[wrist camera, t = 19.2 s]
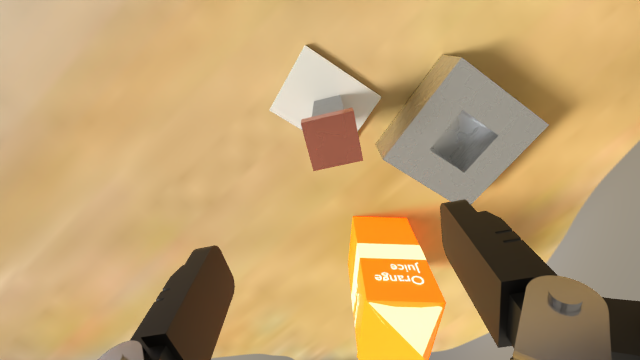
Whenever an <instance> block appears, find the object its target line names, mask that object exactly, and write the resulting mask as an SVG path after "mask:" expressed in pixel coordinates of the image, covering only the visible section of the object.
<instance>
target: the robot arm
mask: <svg viewBox="0 0 640 360" xmlns="http://www.w3.org/2000/svg"><path fill="white" fill-rule="evenodd" d="M440 213H441V228H442V242H443V247H444V250H445V253H446V256H447V258H448V260H449V262H450V263H451V265H452V267H453V269H454V271H455V272H456V274H457V276H458V278H459V279H460V281H461V283H462V285H463V286H464V288H465V290H466V292H467V293H468V295H469V297H470V299H471V301H472V302H473V304H474V306H475V308H476V309H477V311H478V313H479V315H480V316H481V318H482V320H483V322H484V323H485V325H486V327H487V329H488V331H489V332H490V334H491V336H492V338H493V339H494V341H495V343H496V344H497V346H498V347H506V346H513V347H514V352H513V357H512V358H510V360H640V301H631V300H620V299H611V298H604V297H601V296H600V295H599V294H598V293H597V292H596V291H594V290H593V289H591V288H590V287H588V286H587V285H585V284H583V283H581V282H579V281H576V280H573V279H570V278H566V277H561V276H557V274H556V273H555V272H554V271H553V270H552V269H551V268H550V267H549V266H548V265H547V264H546V263H545V262H544V261H543V260H542V259H541V258H540V257H539V256H538V255H537V254H536V253H535V252H534V251H533V250H532V249H531V248H530V247H529V246H528V245H527V244H526V243H525V242H524V241H523V240H522V241H521V238H520V237H519V236H518V235H517V234H516V233H515V232H514V231H512V229H511V228H510V227H509V226H508V225H507V224H506V223H505V222H504V221H503V220H502V219H501V218H499V217H497V216H495V215H493V214H491V213H489V212H487V211H482V212H477V211H476V210H475V209H474V208H473V207H472V206H471V205H470V204H469V202H468V201H467V200H465V199H463V200H458V201H452V202H447V203H442V204H441V206H440ZM234 287H235V286H234V279H233V276H232V273H231V271H230V269H229V267H228V265H227V263H226V261H225V259H224V257H223V254H222V252H221V250H220V249H219V247H218V246H210V247H204V248H199V249H195V250H194V251H193V252H192V254H191V255H190V257H189V258H188V260H187V262H186V263H185V265H183V266H181V267H180V268H179V269H178V270H177V271H176V272H175V273H174V274H173V275H172V276H171V277H170V279H169V280H168V282H167V283H166V285H165V286H164V288H163V291H162V292H161V293H160V294H159V296H158V297H157V299H156V302H154V304H153V305H152V307H151V308H150V310H149V311H148V313H147V315H146V316H145V318H144V319H143V321H142V322H141V324H140V326H139V327H138V329H137V330H136V332H135V333H134V335H133V336H132V338H131V340H130V341H126V342H123V343H121V344H118V345H116V346H115V347H113V348H111V349H110V350H108V351H107V352H106V353H105V354H103V355H102V356H101V357H100V358H99V359H98V360H211V357H212V354H213V351H214V348H215V346H216V343H217V340H218V337H219V334H220V331H221V328H222V326H223V323H224V320H225V317H226V314H227V311H228V308H229V306H230V303H231V300H232V297H233V294H234Z"/></svg>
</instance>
